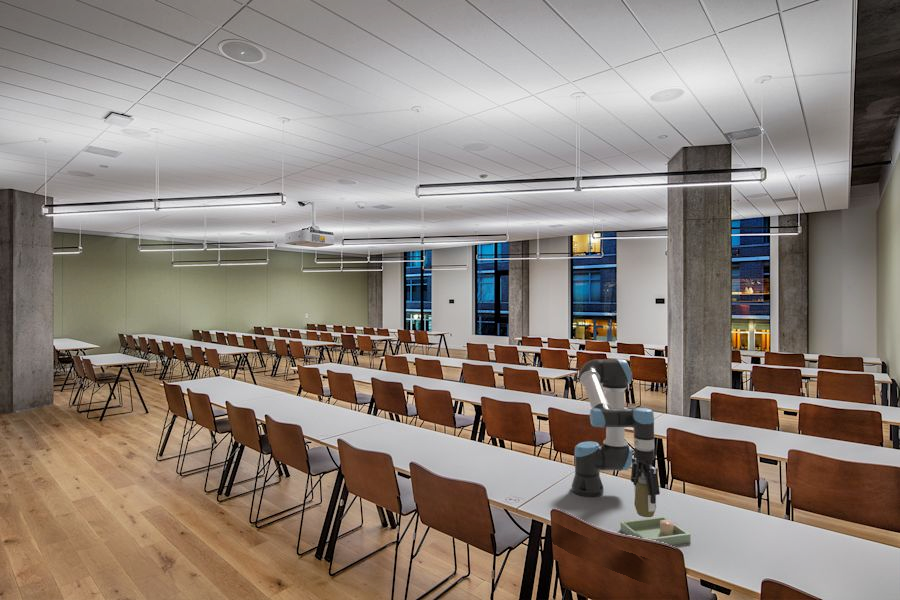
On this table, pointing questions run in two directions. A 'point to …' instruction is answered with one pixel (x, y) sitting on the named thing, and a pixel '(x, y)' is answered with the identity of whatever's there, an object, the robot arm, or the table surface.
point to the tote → (654, 531)
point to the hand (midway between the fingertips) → (645, 506)
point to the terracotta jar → (666, 528)
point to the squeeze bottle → (642, 498)
